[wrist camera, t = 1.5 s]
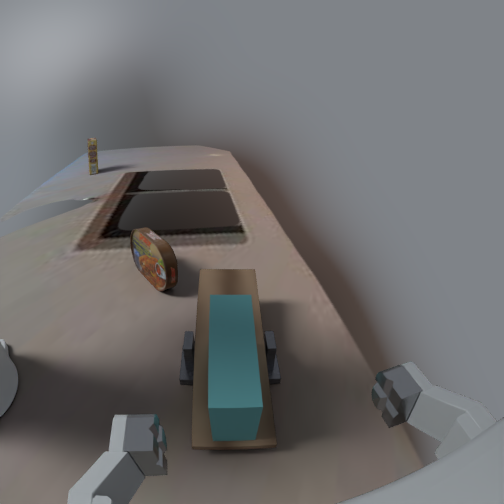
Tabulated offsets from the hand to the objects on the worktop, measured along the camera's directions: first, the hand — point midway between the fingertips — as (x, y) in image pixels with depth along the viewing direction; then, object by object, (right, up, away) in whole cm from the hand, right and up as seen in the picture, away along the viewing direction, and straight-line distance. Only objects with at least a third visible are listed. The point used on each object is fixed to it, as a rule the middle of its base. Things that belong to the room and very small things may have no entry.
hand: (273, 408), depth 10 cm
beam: (-3, -6, +26) cm, 27 cm away
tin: (-18, +1, +45) cm, 49 cm away
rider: (-3, -9, +20) cm, 22 cm away
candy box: (-71, +41, +114) cm, 141 cm away
